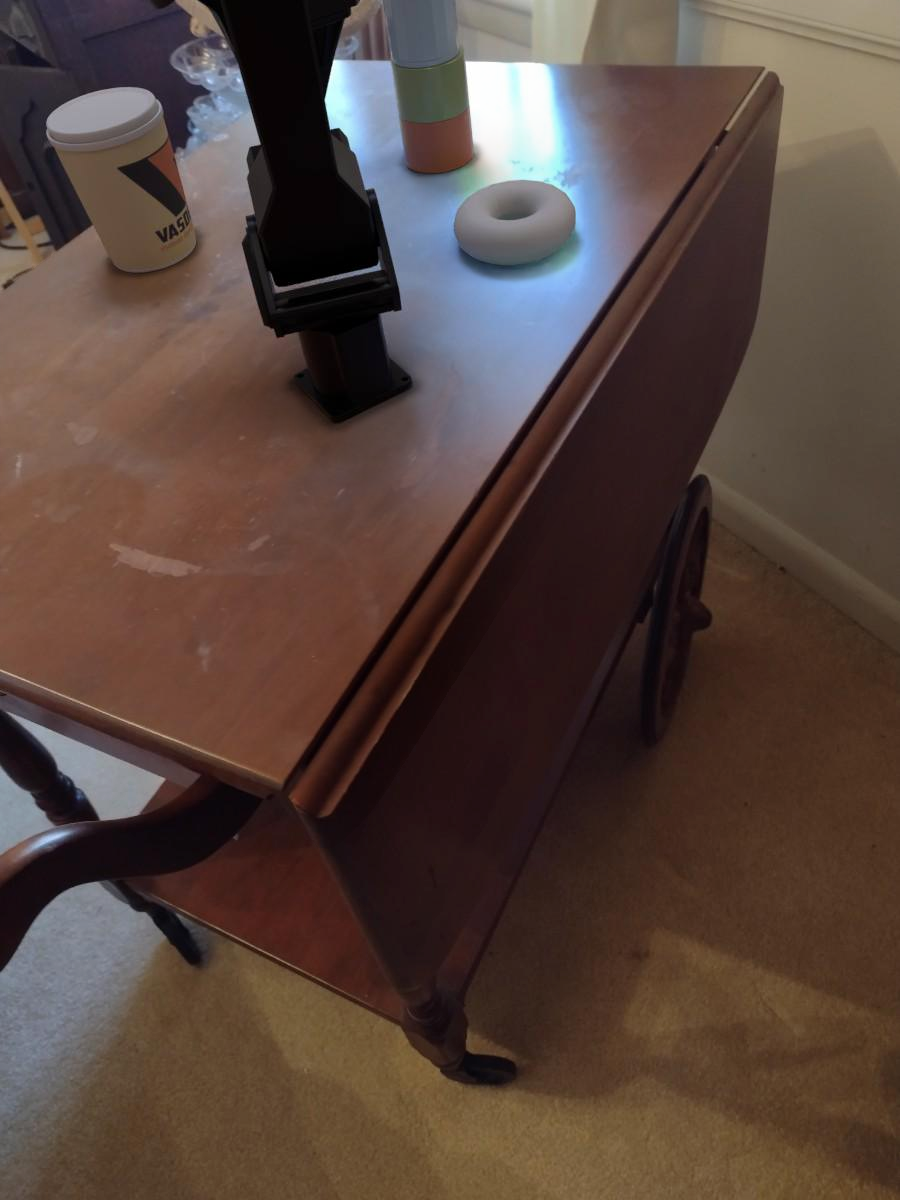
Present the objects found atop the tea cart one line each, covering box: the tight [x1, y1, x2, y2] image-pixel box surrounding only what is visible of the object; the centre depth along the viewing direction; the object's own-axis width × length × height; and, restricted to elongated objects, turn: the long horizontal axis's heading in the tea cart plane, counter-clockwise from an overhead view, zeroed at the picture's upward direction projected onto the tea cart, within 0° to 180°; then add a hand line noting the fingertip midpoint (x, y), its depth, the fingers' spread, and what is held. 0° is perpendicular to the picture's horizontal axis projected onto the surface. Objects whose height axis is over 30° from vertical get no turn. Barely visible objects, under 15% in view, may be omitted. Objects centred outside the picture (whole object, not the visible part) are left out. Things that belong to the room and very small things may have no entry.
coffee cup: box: [46, 86, 197, 274], centre depth 77 cm, size 9×9×12 cm
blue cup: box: [382, 0, 460, 68], centre depth 78 cm, size 6×6×6 cm
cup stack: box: [389, 43, 475, 174], centre depth 84 cm, size 7×7×9 cm
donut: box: [453, 179, 577, 266], centre depth 74 cm, size 10×4×10 cm
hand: (284, 103), depth 67 cm, fingers open, 9 cm apart
